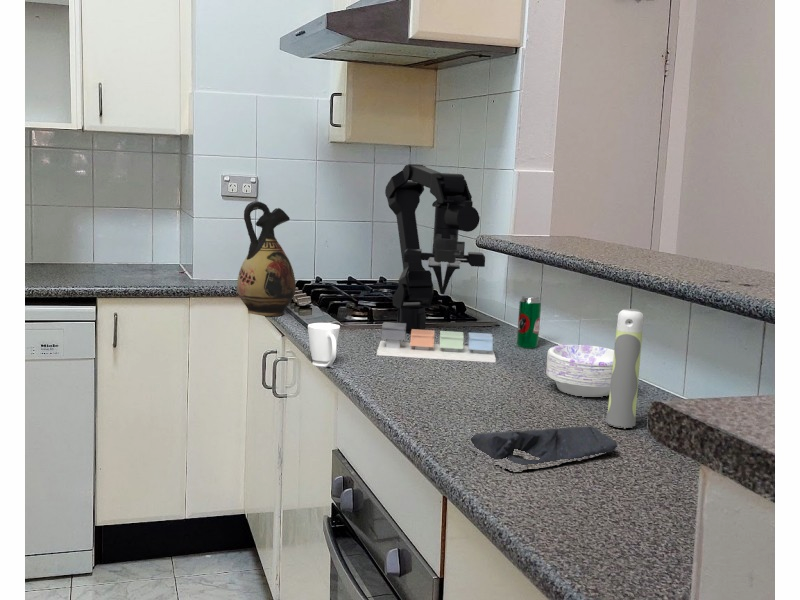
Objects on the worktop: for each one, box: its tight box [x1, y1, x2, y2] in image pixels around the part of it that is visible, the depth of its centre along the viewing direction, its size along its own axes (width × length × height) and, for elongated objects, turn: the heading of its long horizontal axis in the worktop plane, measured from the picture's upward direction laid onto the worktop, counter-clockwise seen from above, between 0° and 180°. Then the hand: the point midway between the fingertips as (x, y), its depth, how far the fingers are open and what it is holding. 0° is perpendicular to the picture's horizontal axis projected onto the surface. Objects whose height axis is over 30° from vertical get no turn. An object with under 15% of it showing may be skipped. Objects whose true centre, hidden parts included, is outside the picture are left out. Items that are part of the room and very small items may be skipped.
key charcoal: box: [381, 321, 407, 341], centre depth 197 cm, size 5×5×3 cm
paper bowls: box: [545, 344, 614, 398], centre depth 169 cm, size 15×15×8 cm
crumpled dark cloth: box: [471, 425, 618, 465], centre depth 132 cm, size 15×22×5 cm
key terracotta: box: [409, 329, 435, 347], centre depth 197 cm, size 5×5×3 cm
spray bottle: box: [605, 308, 645, 427], centre depth 146 cm, size 5×5×20 cm
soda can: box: [516, 295, 542, 350], centre depth 209 cm, size 5×5×12 cm
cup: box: [307, 322, 341, 368], centre depth 179 cm, size 7×10×8 cm
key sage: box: [439, 330, 465, 349], centre depth 197 cm, size 5×5×3 cm
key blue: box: [467, 332, 494, 351], centre depth 197 cm, size 5×5×3 cm
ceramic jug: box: [236, 200, 297, 317], centre depth 233 cm, size 17×15×30 cm
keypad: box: [376, 339, 497, 363], centre depth 197 cm, size 26×12×4 cm, turn 87°
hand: (442, 294), depth 206 cm, fingers closed
